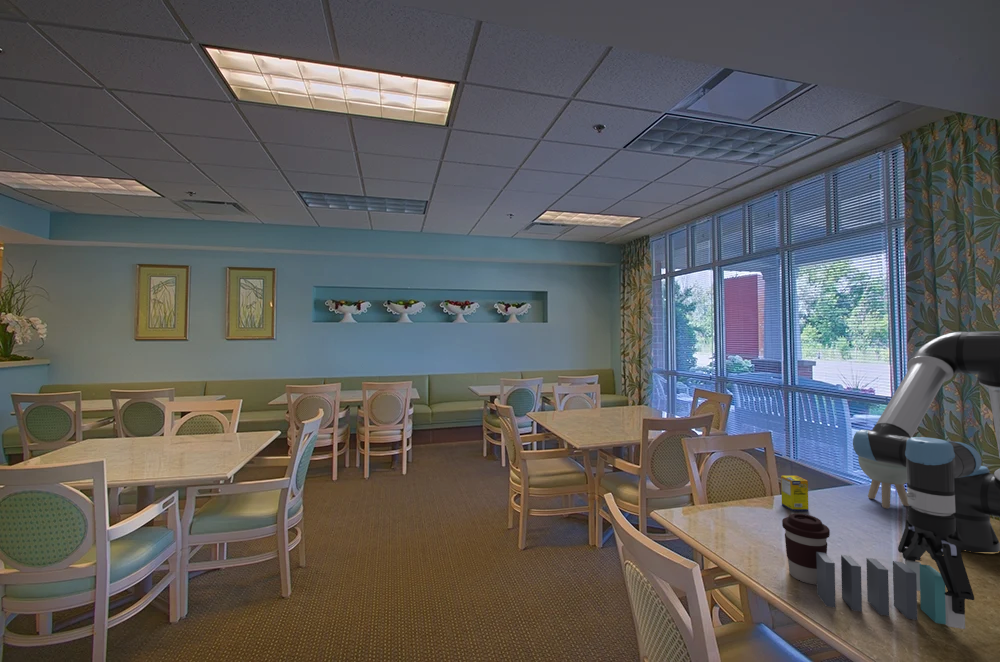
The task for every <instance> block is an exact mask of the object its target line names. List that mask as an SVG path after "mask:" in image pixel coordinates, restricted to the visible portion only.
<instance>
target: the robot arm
mask: <svg viewBox="0 0 1000 662" xmlns="http://www.w3.org/2000/svg"><path fill="white" fill-rule="evenodd" d="M906 367H907V368H906V369H907V370H908V371H907V372H906V374H905V375H904V377H903V379H902V380H901V382H900V384H899V385H898V387H897V388H896V390H895V392H894V394H893V395H892V396H891V399H890V400H889V402H888V403H887V405H886V407H885V408H884V410H883V411H882V413H881V415H880V417H879V418H878V420H877V421H876V423H875V425H874V426H873V428H872V429H871V430H870V429H859V430H857V431H856V432H855V433H854V435H853V437H852V447H853V451H854V453H855V454H856V455H857V456H860V457H862V458H866V459H870V460H873V461H876V462H878V461H879V462H884V463H889V464H893V465H898V466H903V467H906V469H907V483H906V490H907V491H906V496H907V501H908V504H909V505H910V506H906V507H907V508H906V509H907V510H906V511H907V513H906V514H907V519H905V522H904V523H905V527H904V530H903V533H902V536H901V538H900V540H899V541H900V542H899V544H898V546H897V550H898V552H899V553H902V559H904V564H905V565H907V566H908V567H909V568H910V569H911V570H913V571H914V572H915V573H916V582H917V592H920V564H922V563H921V561H923V560H922V558H921V557H922V556H923V555H924V554H925V553H926V552H927V554H929V556H930V558H931V559H932V560H933V561H934V562H935V565H936V566H937V568H938V572H939V573H940V574H941V576H942V578H943V581H944V583H945V589H946V590H947V591H946V592H945V610H946V624H945V625H946V626H947V627H948V628H949V627H950V628H956V629H963V630H966V603H965V602H966V600H967V601H968V600H969V601H974V600H975V594H974V592H973V591H974V590H973V589H972V586H971V585H972V584H971V582H970V580H969V577H968V573H967V572H968V571H967V570H966V566H965V563H964V560H963V558H962V556H963V555H962V550H966V551H965V552H967V551H971V552H970V553H972V552H998V551H1000V540H999V539H998V536H997V534H996V532H995V530H994V528H993V526H992V523H991V516H992V517H996V518H1000V467H999V468H998V469H995V471H994V473H990V472H991V470H989V468H988V466H985V465H982V464H983V462H982V461H983V460H982V457H981V454H980V453H979V451H978V450H977V449H975V448H974V447H973V446H971V445H969V444H967V443H965V442H961V441H951V440H950V441H947V440H945V439H940V438H935V437H926V436H923V437H922V436H914V435H915V433H916V431H917V429H918V427H919V426H920V424H921V423H922V421H923V419H924V417H925V415H926V414H927V412H928V410H930V407H931V405H932V404H933V401H934V400H935V398H936V396H937V395H938V392H939V391H940V389H941V388H942V385H943V384H944V383H945V382H948V381H950V380H952V378H953V376H954V375H957V374H967V375H968V374H969V375H977V378H978V383H979V384H980V385H981V386H983V387H986V388H987V389H988V395H989V400H990V406H991V411H992V418H993V419H992V420H993V425H994V431H995V437H996V443H997V449H998V457H999V458H1000V330H997V331H996V330H993V331H990V330H988V331H987V330H986V331H954V332H949V333H945V334H942V335H940V336H938V337H935V338H932V339H931V340H929V341H928V342H927V343H924V344H923V345H922V346H921V347H920V348H918V349H917V350H916V351H915V352H914V353H913V354H912V355H911V356H910V358H909V360H908V361H907V364H906Z"/></svg>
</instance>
